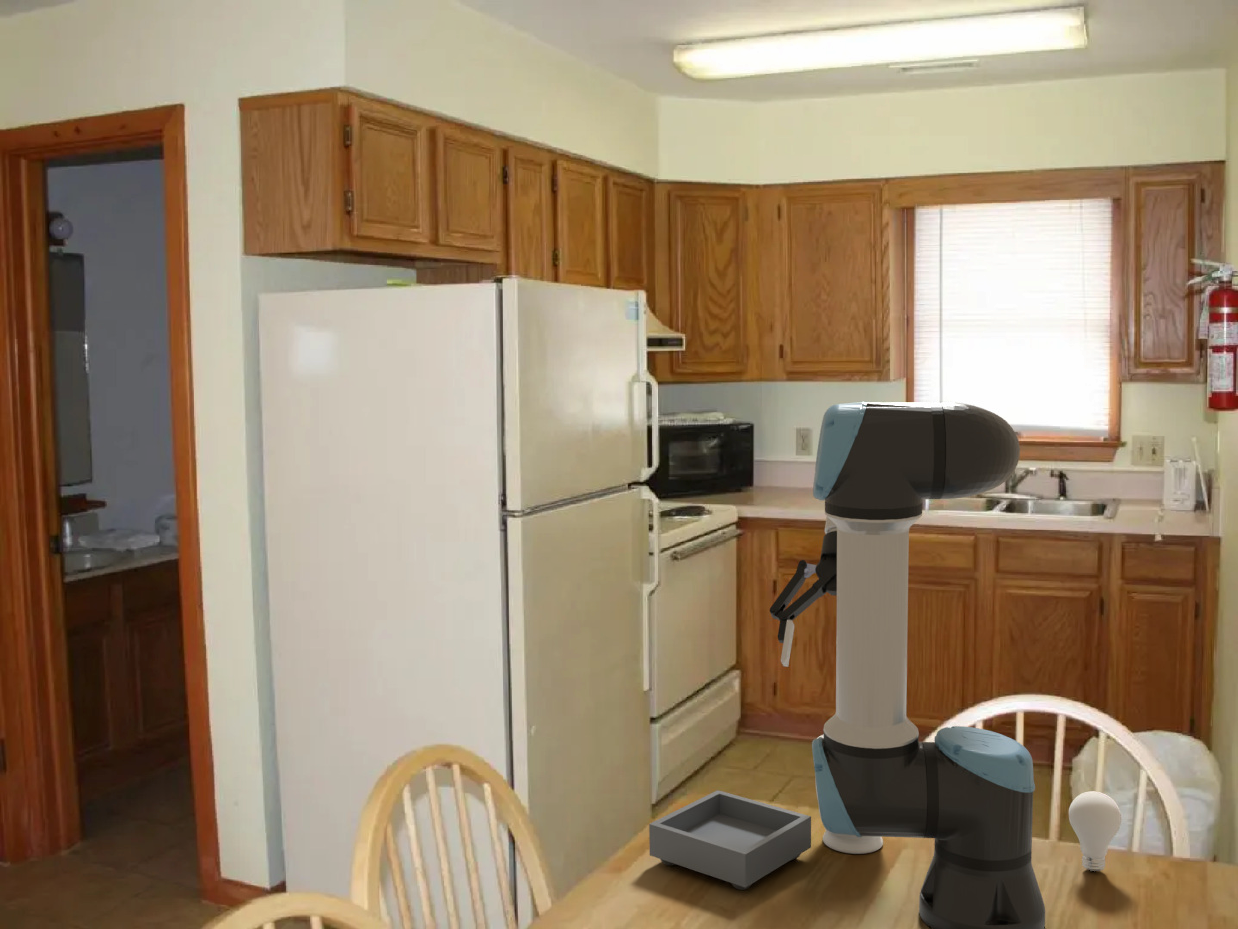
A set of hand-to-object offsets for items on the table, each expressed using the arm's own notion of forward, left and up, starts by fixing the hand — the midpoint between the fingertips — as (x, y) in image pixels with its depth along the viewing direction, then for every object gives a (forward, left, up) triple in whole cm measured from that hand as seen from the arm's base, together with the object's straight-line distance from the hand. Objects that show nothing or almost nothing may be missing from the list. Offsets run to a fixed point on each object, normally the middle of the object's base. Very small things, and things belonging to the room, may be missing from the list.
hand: (829, 669), depth 187 cm
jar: (-7, +6, -23) cm, 25 cm away
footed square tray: (+3, +22, -23) cm, 32 cm away
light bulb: (-37, -6, -23) cm, 44 cm away
